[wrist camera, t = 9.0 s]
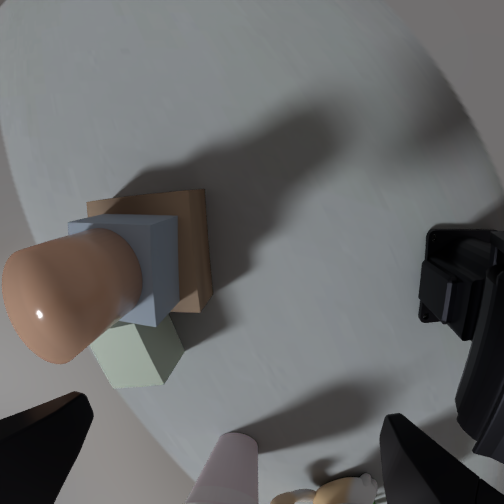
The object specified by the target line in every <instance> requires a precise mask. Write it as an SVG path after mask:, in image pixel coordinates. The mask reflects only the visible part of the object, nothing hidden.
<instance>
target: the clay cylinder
mask: <svg viewBox="0 0 504 504" xmlns="http://www.w3.org/2000/svg"><path fill="white" fill-rule="evenodd" d="M142 281H143V280H142V272H141V267H140V264H139V261H138V259H137V256H136V254H135V253H134V251H133V249H132V248H131V246H130V245H129V244H128V243H127V242H126V240H125V239H123V238H122V237H121V236H120V235H118V234H117V233H115V232H113V231H111V230H108V229H105V228H93V229H89V230H86V231H82V232H78V233H75V234H71V235H68V236H64V237H61V238H58V239H54V240H51V241H47V242H44V243H41V244H38V245H34V246H31V247H28V248H25V249H22V250H19V251H16V252H15V253H13V254H12V255H11V256H10V257H9V258H8V260H7V262H6V264H5V267H4V270H3V275H2V293H3V299H4V304H5V307H6V311H7V313H8V316H9V319H10V321H11V323H12V325H13V327H14V329H15V331H16V332H17V334H18V335H19V337H20V338H21V339H22V341H23V342H24V343H25V344H26V345H27V347H28V348H29V349H30V350H31V351H33V352H34V353H35V354H36V355H37V356H39V357H40V358H42V359H43V360H45V361H47V362H50V363H54V364H65V363H67V362H69V361H71V360H72V359H73V358H74V357H76V355H78V354H79V353H80V352H82V351H83V350H84V349H85V348H86V347H87V346H89V345H90V344H91V343H92V342H93V341H95V340H96V339H97V338H98V337H99V336H101V335H102V334H103V333H104V332H105V331H107V330H108V329H109V328H110V327H111V326H113V325H114V324H115V323H116V322H118V321H119V320H120V319H121V318H122V317H124V316H125V315H126V314H127V313H129V312H130V311H131V310H132V309H133V308H134V307H135V306H136V304H137V303H138V301H139V298H140V296H141V292H142Z"/></svg>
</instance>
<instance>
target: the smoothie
mask: <svg viewBox="0 0 504 504" xmlns="http://www.w3.org/2000/svg"><path fill="white" fill-rule="evenodd" d="M184 504H258V445H257V443H256V441H255V440H254V439H253V438H251V437H250V436H248V435H245V434H242V433H226V434H224V435H222V436H221V437H220V438H219V439H218V441H217V443H216V445H215V447H214V449H213V451H212V453H211V455H210V457H209V458H208V460H207V462H206V464H205V466H204V468H203V470H202V472H201V474H200V476H199V477H198V479H197V481H196V483H195V485H194V487H193V488H192V490H191V492H190V494H189V496H188V497H187V499H186V501H185V503H184Z"/></svg>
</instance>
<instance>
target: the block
mask: <svg viewBox="0 0 504 504" xmlns="http://www.w3.org/2000/svg"><path fill="white" fill-rule="evenodd" d="M90 347H91V349H92V351H93V353H94V355H95V357H96V359H97V361H98V362H99V364H100V366H101V368H102V370H103V372H104V373H105V375H106V377H107V379H108V381H109V382H110V384H111V386H112V387H113V389H114V388H130V387H143V386H154V385H164V384H165V382H166V381H167V379H168V377H169V376H170V374H171V373H172V371H173V369H174V368H175V366H176V365H177V363H178V361H179V360H180V358H181V357H182V355H183V353H184V352H185V350H184V348H183V346H182V343H181V341H180V339H179V337H178V335H177V332H176V330H175V328H174V325H173V323H172V321H171V318H170V316H169V314H168V315H167V316H166V317H165V318H164V319H163V320H162V321H161V322H160V324H159V325H158V326H157V327H152V326H146V325H140V324H134V323H129V322H123V321H118V322H116V323H115V324H114V325H113V326H111V327H110V328H109V329H108V330H107V331H105V332H104V333H103V334H102V335H101V336H99V337H98V338H97V339H96V340H95V341H93V342H92V343H91V344H90Z"/></svg>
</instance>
